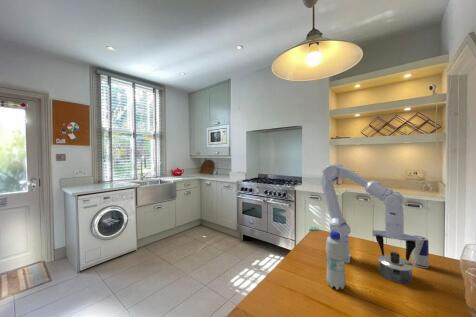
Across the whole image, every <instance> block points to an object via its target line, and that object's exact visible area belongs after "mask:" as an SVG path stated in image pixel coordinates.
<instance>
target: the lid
mask: <svg viewBox="0 0 476 317" xmlns="http://www.w3.org/2000/svg"><path fill="white" fill-rule="evenodd" d="M377 260H378V262H380V263H381V264H382V265H384V266H386V267H388V268H391V269H394V270H398V271H412V272H413V270H414V265H413V263H412V261H411V262H410V260H409V261H407V260H406V258H402V257H400V254H399V252H396V251H390V253H389V254H384V256H382V254H381V255H379V256H377Z"/></svg>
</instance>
